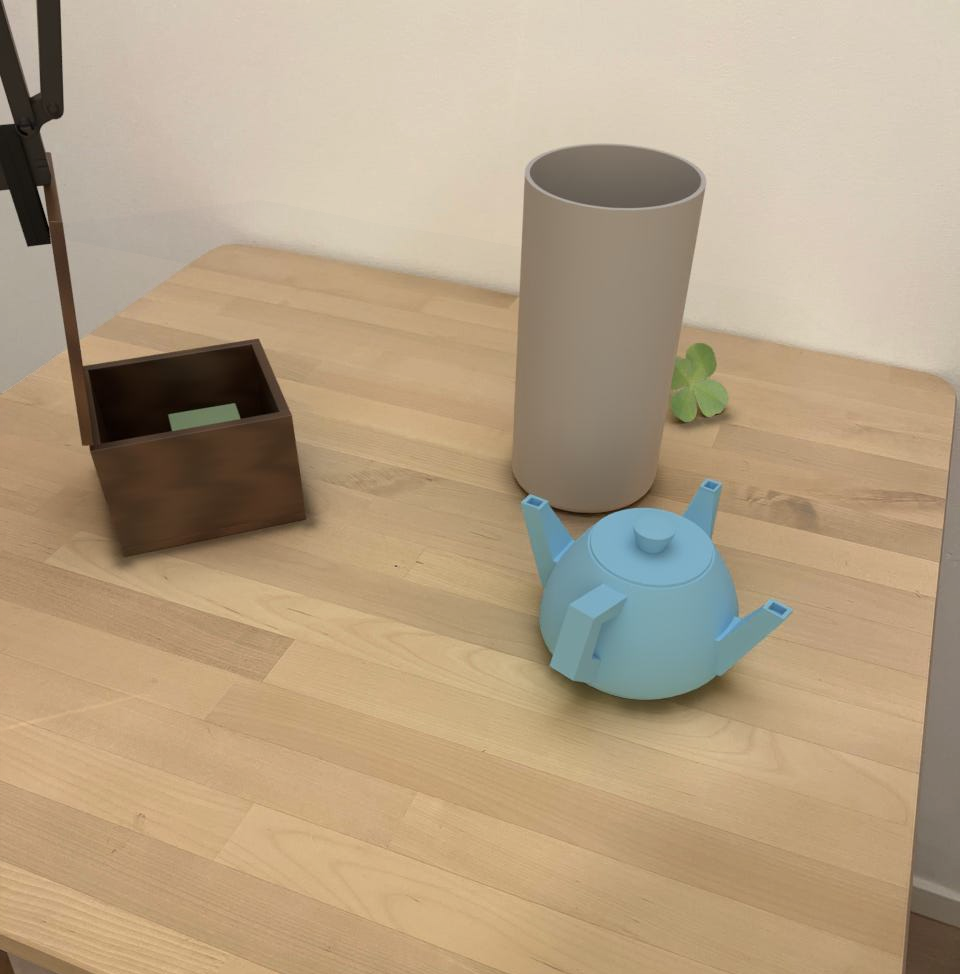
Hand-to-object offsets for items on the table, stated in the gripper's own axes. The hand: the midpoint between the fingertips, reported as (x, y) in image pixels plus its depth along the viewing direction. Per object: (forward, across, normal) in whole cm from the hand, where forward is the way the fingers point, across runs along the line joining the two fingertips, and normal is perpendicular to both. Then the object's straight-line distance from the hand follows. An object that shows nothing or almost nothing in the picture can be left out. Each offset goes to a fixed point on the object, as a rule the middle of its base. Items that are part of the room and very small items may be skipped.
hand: (38, 236), depth 64 cm
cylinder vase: (+23, -38, +8) cm, 45 cm away
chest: (+23, -7, 0) cm, 24 cm away
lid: (+5, -1, 0) cm, 5 cm away
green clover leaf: (+23, -53, 0) cm, 58 cm away
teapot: (+23, -33, +28) cm, 49 cm away
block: (+22, -8, 0) cm, 23 cm away
